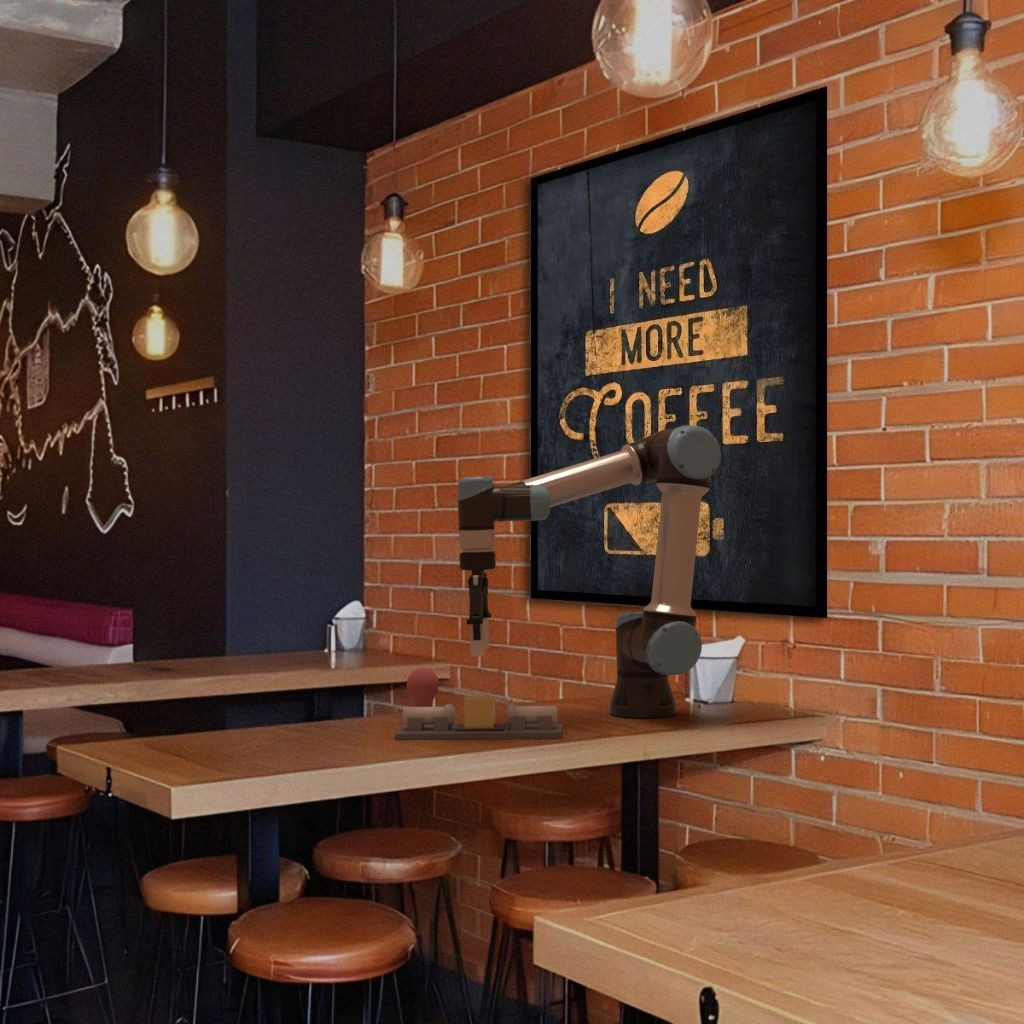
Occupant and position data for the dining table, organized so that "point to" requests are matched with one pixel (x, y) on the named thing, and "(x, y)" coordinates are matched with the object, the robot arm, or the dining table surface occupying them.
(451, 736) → the grey assembly fixture
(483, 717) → the block
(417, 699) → the light bulb
